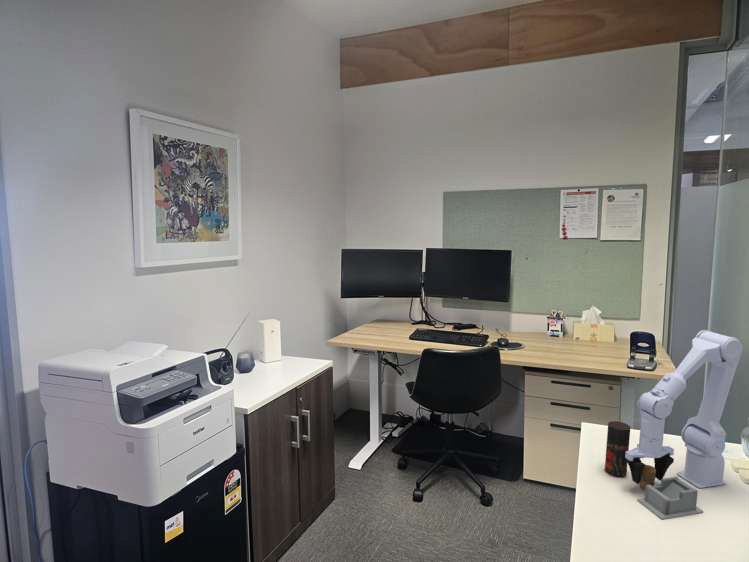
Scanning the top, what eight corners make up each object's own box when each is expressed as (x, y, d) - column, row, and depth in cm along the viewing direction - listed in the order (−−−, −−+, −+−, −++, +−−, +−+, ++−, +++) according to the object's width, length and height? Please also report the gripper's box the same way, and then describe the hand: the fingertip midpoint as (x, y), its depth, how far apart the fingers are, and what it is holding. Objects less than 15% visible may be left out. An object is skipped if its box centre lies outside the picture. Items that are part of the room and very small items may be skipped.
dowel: (647, 483, 141) (648, 464, 140) (657, 490, 137) (658, 470, 136) (636, 484, 140) (638, 465, 139) (646, 491, 136) (648, 472, 136)
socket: (676, 494, 135) (678, 474, 134) (703, 512, 127) (705, 491, 126) (637, 500, 132) (638, 480, 131) (661, 519, 124) (663, 498, 123)
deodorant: (629, 478, 143) (633, 430, 141) (607, 476, 144) (611, 428, 142) (623, 468, 149) (626, 422, 147) (602, 466, 150) (605, 420, 148)
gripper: (661, 426, 142) (657, 470, 144) (619, 431, 138) (615, 475, 140) (681, 437, 135) (677, 483, 137) (637, 443, 132) (633, 489, 134)
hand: (647, 480), depth 138 cm, fingers open, 7 cm apart
